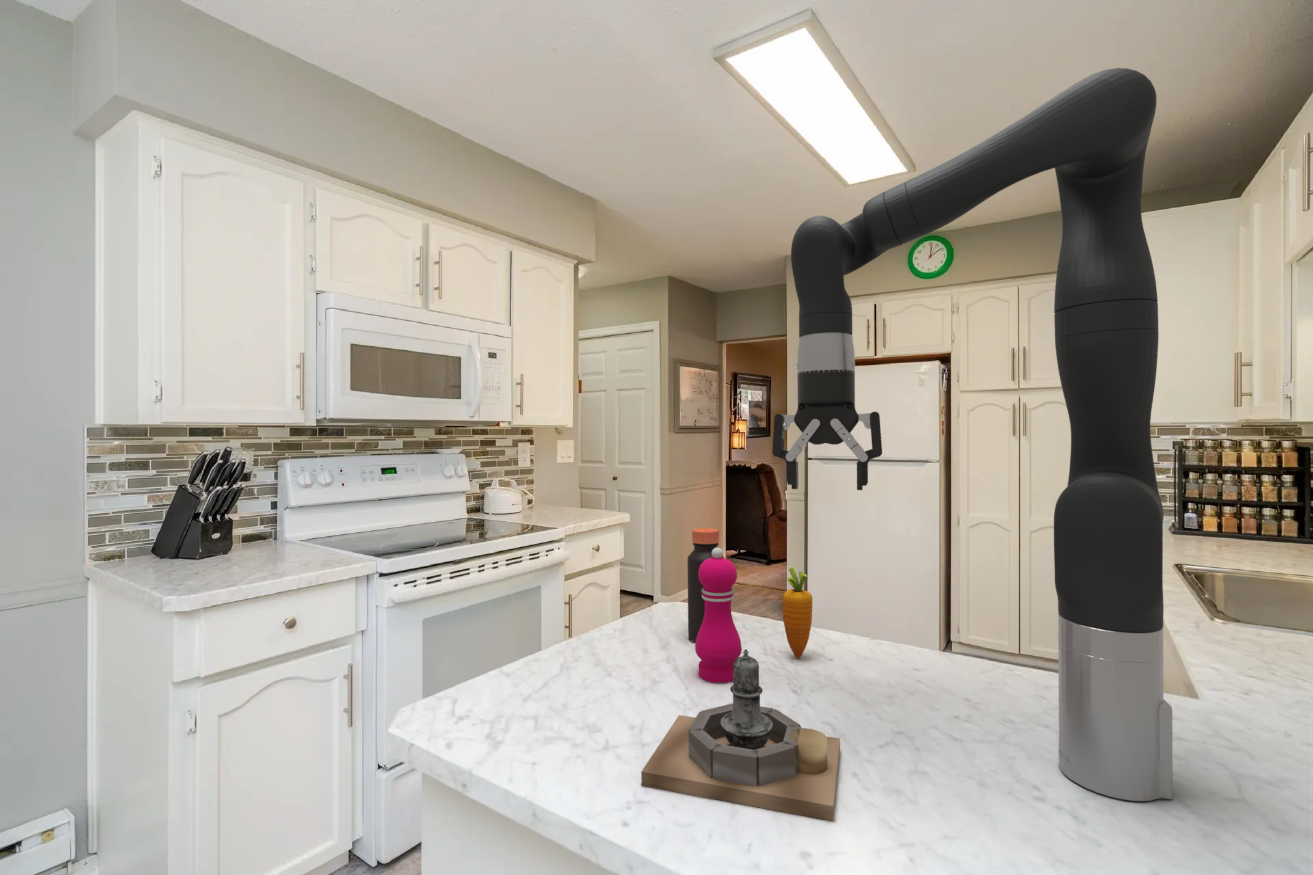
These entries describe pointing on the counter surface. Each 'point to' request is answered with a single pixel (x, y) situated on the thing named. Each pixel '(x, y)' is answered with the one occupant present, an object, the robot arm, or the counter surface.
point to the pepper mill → (717, 620)
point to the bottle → (702, 551)
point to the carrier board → (748, 765)
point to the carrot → (797, 614)
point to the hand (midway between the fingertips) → (826, 489)
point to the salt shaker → (746, 707)
